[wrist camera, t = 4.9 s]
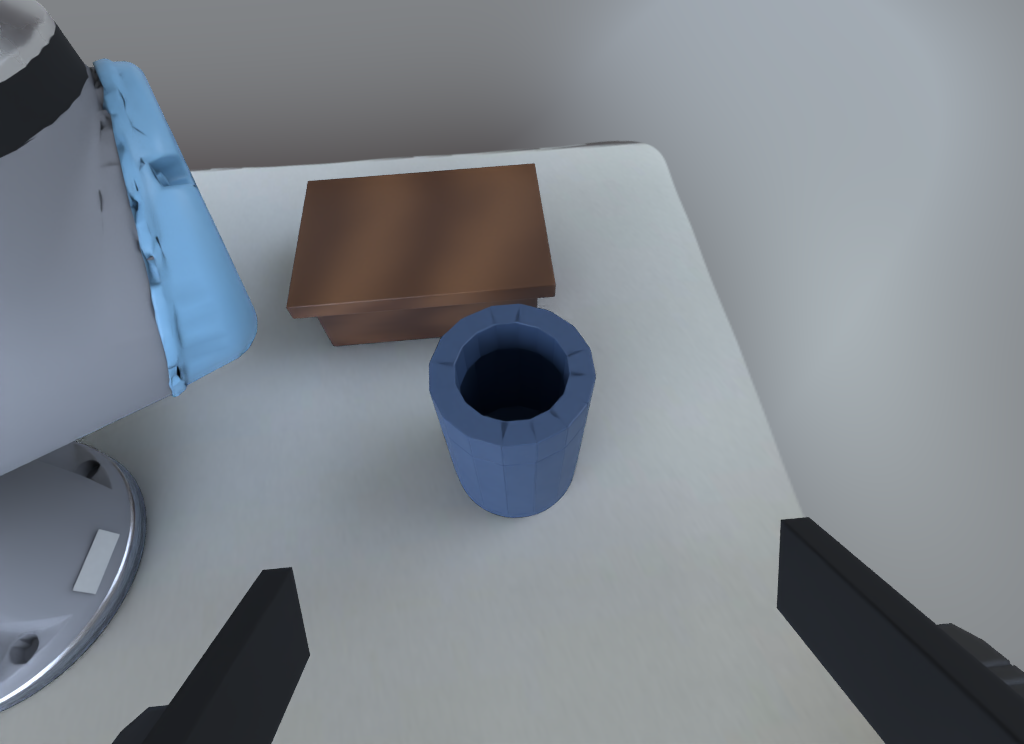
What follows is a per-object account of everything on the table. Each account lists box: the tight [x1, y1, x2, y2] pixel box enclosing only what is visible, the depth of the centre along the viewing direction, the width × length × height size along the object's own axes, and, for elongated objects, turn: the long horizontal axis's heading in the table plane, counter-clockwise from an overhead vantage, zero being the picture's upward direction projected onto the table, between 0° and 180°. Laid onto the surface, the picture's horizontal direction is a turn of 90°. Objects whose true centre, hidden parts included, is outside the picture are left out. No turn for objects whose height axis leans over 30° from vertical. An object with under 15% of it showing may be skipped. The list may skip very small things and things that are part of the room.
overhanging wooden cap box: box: [286, 164, 556, 346], centre depth 38 cm, size 17×12×6 cm
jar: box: [429, 304, 596, 518], centre depth 29 cm, size 8×8×11 cm
